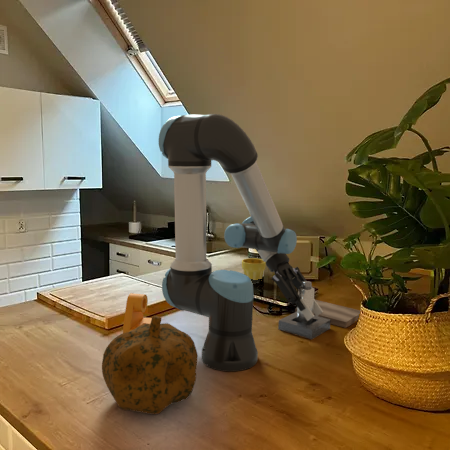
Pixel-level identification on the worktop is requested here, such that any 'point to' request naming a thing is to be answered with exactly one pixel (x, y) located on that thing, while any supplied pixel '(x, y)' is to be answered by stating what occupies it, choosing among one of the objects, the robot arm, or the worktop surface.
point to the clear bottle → (306, 301)
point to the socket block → (304, 326)
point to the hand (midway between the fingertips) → (315, 316)
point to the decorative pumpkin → (150, 367)
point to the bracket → (135, 312)
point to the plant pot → (253, 268)
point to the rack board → (338, 314)
